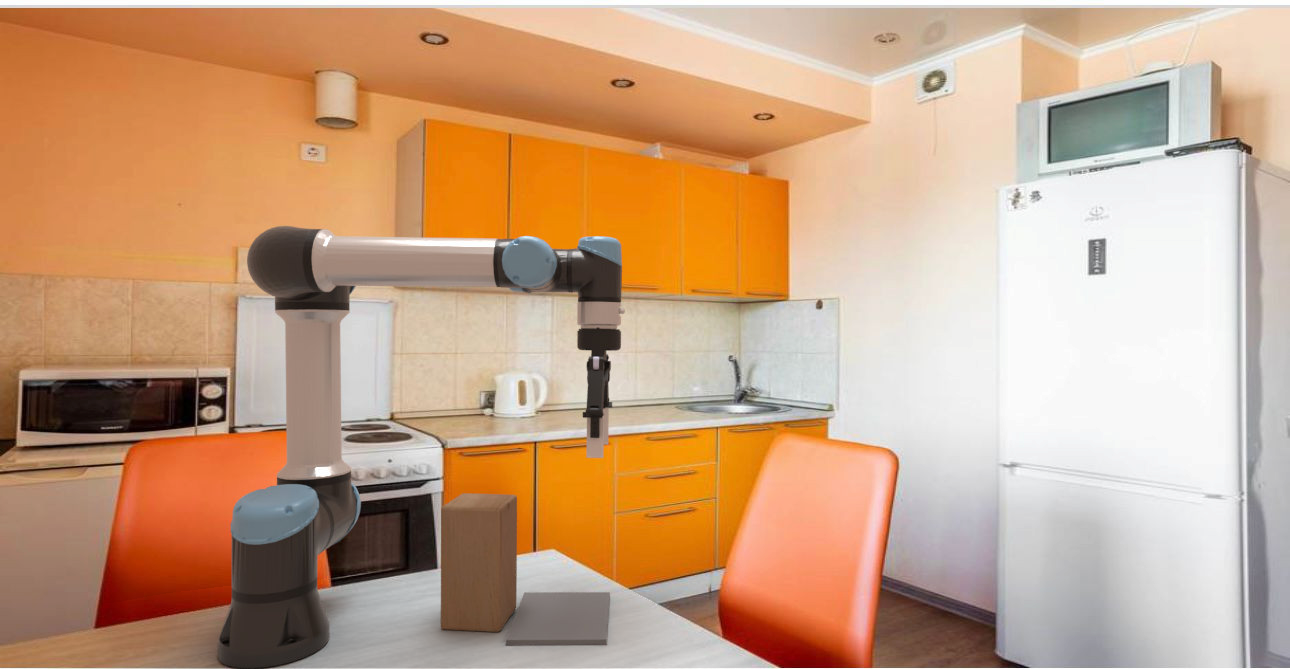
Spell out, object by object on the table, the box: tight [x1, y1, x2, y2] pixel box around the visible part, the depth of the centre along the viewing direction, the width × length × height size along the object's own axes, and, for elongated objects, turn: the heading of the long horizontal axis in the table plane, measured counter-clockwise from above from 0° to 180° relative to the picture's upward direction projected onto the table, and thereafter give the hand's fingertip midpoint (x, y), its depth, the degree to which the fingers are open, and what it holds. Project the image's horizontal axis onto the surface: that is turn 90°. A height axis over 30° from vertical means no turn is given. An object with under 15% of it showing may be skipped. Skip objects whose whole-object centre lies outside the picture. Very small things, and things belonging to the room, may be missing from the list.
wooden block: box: [440, 492, 518, 633], centre depth 120 cm, size 10×10×20 cm
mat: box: [505, 591, 611, 646], centre depth 120 cm, size 16×20×1 cm
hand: (598, 450), depth 124 cm, fingers open, 13 cm apart
